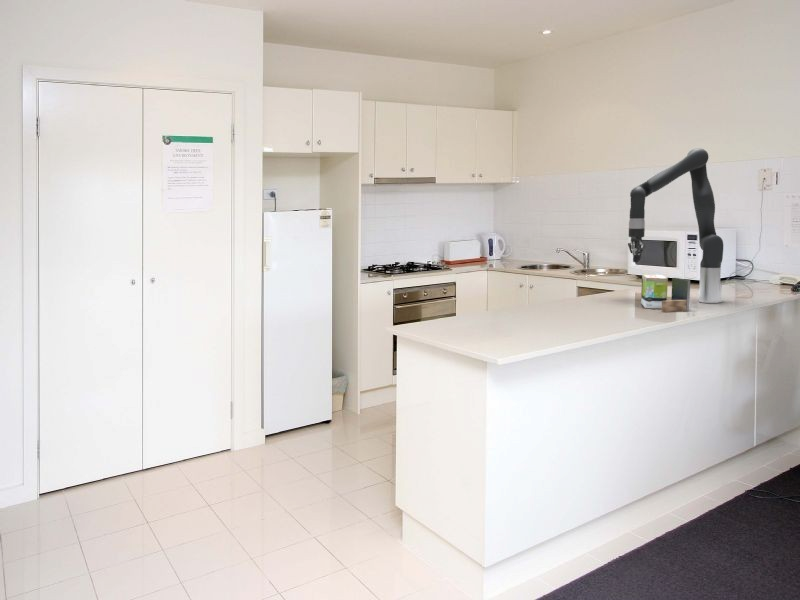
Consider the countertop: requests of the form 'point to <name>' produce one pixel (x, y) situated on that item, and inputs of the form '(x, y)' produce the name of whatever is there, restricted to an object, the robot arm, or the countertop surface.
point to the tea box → (653, 290)
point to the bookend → (681, 290)
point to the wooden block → (674, 305)
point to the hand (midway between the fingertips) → (635, 262)
